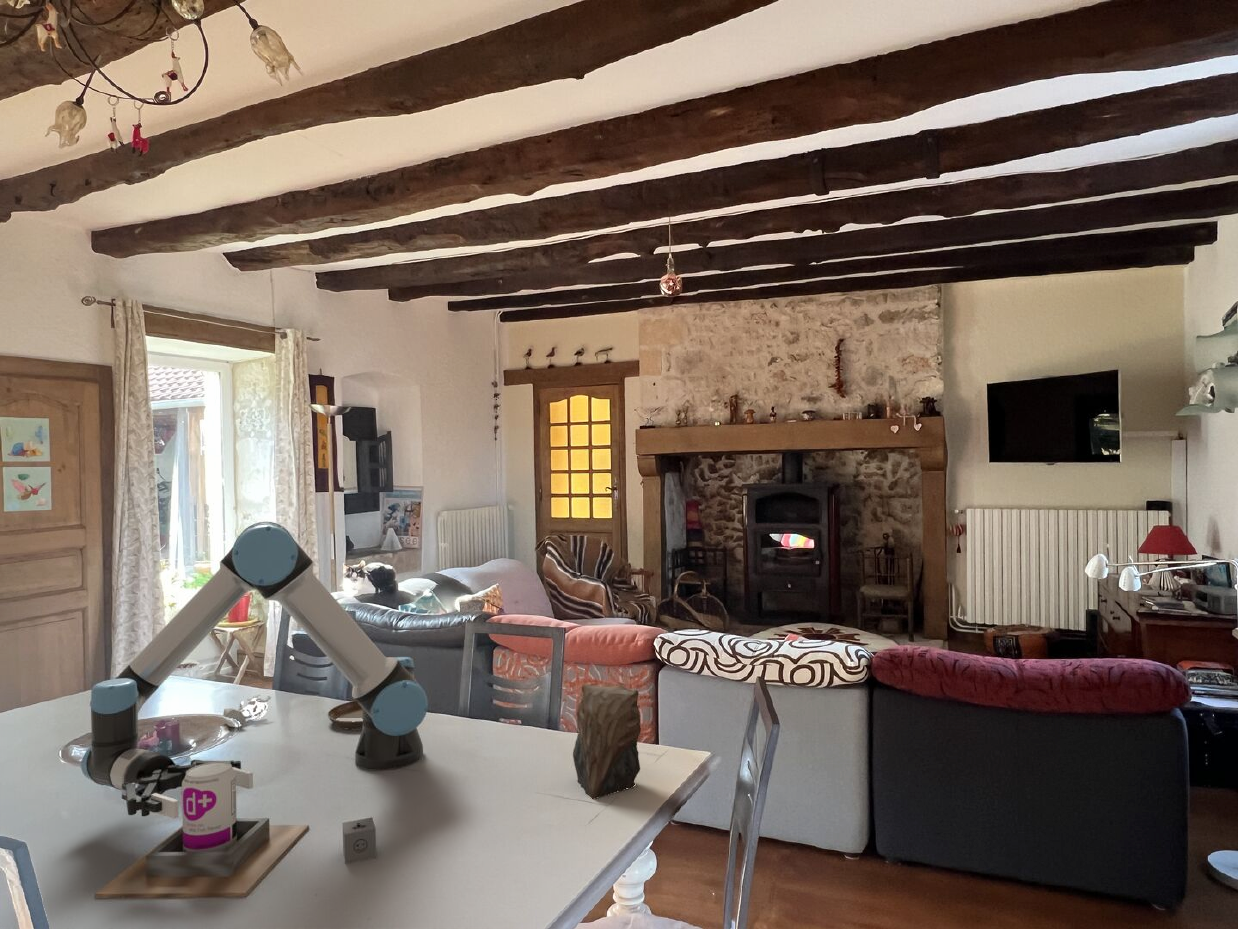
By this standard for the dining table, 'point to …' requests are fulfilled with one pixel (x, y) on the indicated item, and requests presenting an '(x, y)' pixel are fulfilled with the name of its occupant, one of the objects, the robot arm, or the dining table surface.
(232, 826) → the supplement can
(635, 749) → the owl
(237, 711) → the figurine
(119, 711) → the robot arm
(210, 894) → the collar board
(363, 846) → the dice cube
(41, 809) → the dining table surface
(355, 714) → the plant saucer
